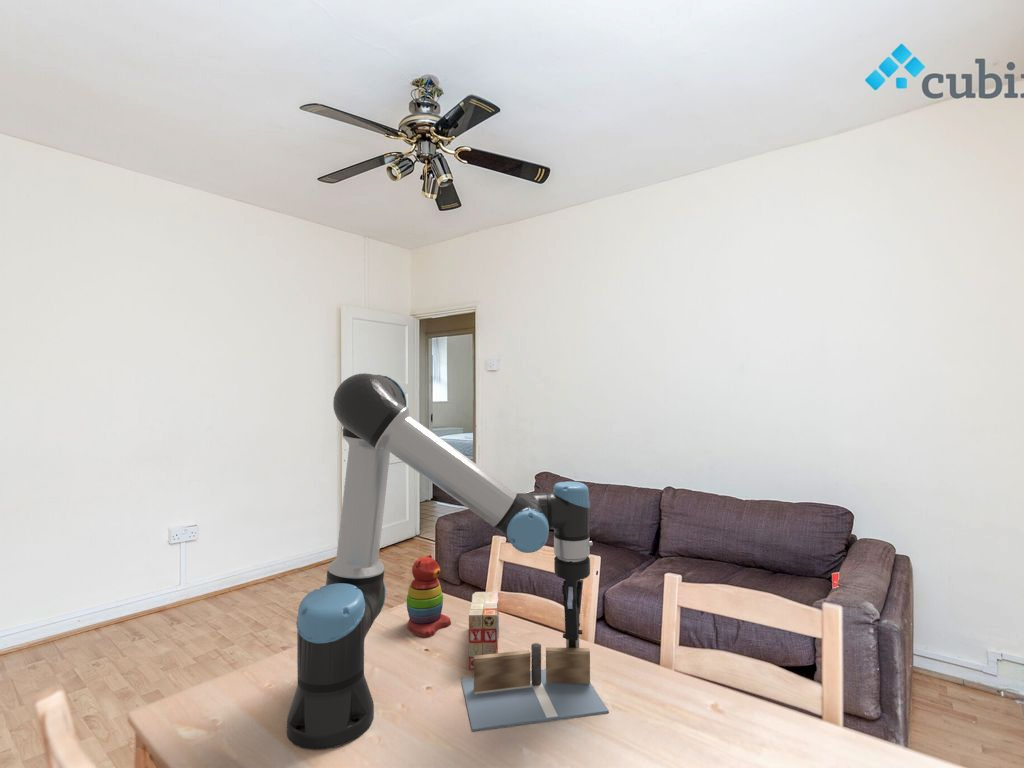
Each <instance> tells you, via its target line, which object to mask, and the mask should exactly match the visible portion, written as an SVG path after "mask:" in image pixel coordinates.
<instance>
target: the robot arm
mask: <svg viewBox="0 0 1024 768" xmlns="http://www.w3.org/2000/svg"><path fill="white" fill-rule="evenodd" d="M332 405H333V406H332V407H333V412H334V414H335V416H336V419H337V421H339V423H340V424H341V425H342V426H343V431H342V438H343V439H344V440H345V442H346V443H348V453H347V462H346V471H345V478H344V486H343V487H344V488H343V497H342V505H341V506H342V507H341V515H340V523H339V531H338V539H337V540H338V541H337V549H336V550H337V551H336V556H335V559H333V561H331V562H330V563H329V564H328V565H327V570H326V571H327V572H326V578H325V579H326V580H325V585H322V586H320V587H319V588H317V589H313V590H311V591H310V592H308V593H306V595H305V596H304V597H303V598H302V599H301V601H300V603H299V605H298V610H297V617H296V631H297V634H296V635H297V639H296V640H297V643H296V644H297V646H296V647H297V654H296V655H297V659H296V661H297V663H296V664H297V668H296V669H297V685H296V689H295V692H294V696H293V698H292V702H291V704H290V708H289V710H288V714H287V717H286V737H287V739H288V740H289V741H290V743H292V744H293V745H294V746H296V747H299V748H302V749H306V750H327V749H332V748H337V747H339V746H343V745H346V744H347V743H350V742H351V741H355V739H357V738H359V737H360V736H361V735H363V734H364V733H365V732H366V731H367V730H368V729H369V728H370V727H371V725H372V723H373V721H374V717H375V715H374V714H375V713H374V712H375V711H374V710H375V709H374V708H375V705H374V700H373V696H372V694H371V691H370V688H369V684H368V682H367V679H366V676H365V639H366V637H367V635H368V633H369V631H370V629H371V628H372V625H373V624H374V622H375V621H376V619H377V617H378V616H379V615H380V613H381V612H382V609H383V608H384V605H385V601H386V596H387V594H386V593H387V592H386V591H387V590H386V584H385V581H384V575H385V565H384V564H383V563H382V562H381V560H380V559H379V558H380V547H381V541H382V540H381V539H382V531H383V530H382V529H383V522H384V521H383V520H384V512H385V503H386V494H387V493H386V492H387V484H388V477H389V475H388V474H389V467H390V457H391V454H392V455H394V456H395V457H396V458H398V459H399V460H401V462H404V463H405V464H406V465H407V466H408V467H410V468H412V469H413V470H414V471H416V472H417V473H418V474H420V475H421V476H423V477H424V478H426V479H427V481H428V480H429V481H430V482H431V483H433V484H434V486H436V487H438V488H439V489H440V490H442V491H443V492H445V493H446V494H447V495H449V496H450V497H452V498H453V499H454V500H456V501H458V503H460V504H462V506H465V508H467V509H469V511H471V512H472V513H474V514H475V515H476V516H478V517H479V518H481V519H482V520H483V521H485V522H486V523H488V524H489V525H491V527H493V528H495V529H496V530H497V531H498V532H500V533H501V534H502V535H504V536H505V537H507V540H508V541H509V543H510V544H511V545H512V547H513V548H514V549H515V550H517V551H518V552H521V553H525V554H532V553H536V552H538V551H540V550H541V549H542V548H543V547H544V546H545V545H546V544H547V542H548V539H549V534H550V532H549V531H550V530H553V553H554V555H555V557H554V564H553V565H554V566H553V567H554V574H555V576H556V577H557V578H560V579H563V583H562V587H561V593H562V595H563V601H562V603H563V608H564V629H565V630H564V632H565V633H563V634H562V638H563V639H565V640H566V641H565V645H566V646H565V648H580V635H583V629H580V625H581V623H580V615H581V614H580V611H581V610H580V607H581V601H582V589H583V581H582V580H585V579H587V578H588V577H589V576H590V574H591V560H590V557H589V556H590V553H591V552H590V551H591V550H590V548H591V547H592V546H594V545H593V544H594V543H593V541H592V540H590V531H591V530H590V523H591V522H590V519H591V517H590V512H591V511H590V509H591V504H590V493H589V492H590V491H589V487H588V486H587V485H586V484H585V483H582V482H580V481H579V482H578V481H559V482H556V483H555V484H554V486H553V489H552V492H551V491H550V492H545V493H543V492H538V493H537V492H534V493H533V492H529V493H528V492H527V493H525V492H524V493H522V492H521V493H520V492H519V493H517V492H516V491H514V490H512V489H511V488H510V487H509V486H507V485H505V484H504V483H503V482H501V481H500V480H499V479H497V478H496V477H494V476H493V475H492V474H491V473H489V472H488V471H486V470H485V469H483V467H481V466H480V465H478V464H477V463H476V462H475V461H473V460H471V459H470V458H468V456H466V455H464V454H463V453H462V452H460V451H459V450H458V449H456V448H455V447H453V446H452V445H450V444H449V443H448V442H446V441H445V440H444V439H443V438H441V437H440V436H438V435H437V434H436V433H434V432H433V431H431V430H430V429H429V428H428V427H426V426H425V425H424V424H422V423H420V422H419V421H418V420H416V419H415V418H413V417H412V416H411V414H410V410H409V407H408V406H407V396H406V393H405V391H404V389H403V387H401V385H400V384H399V383H398V382H397V381H395V380H394V379H392V378H391V377H390V376H389V377H388V376H387V375H381V374H371V373H366V372H365V373H357V374H353V375H351V376H348V377H347V378H346V379H345V380H343V381H342V382H341V383H340V384H339V386H337V389H336V391H335V392H334V397H333V404H332Z"/></svg>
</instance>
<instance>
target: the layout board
mask: <svg viewBox="0 0 1024 768" xmlns="http://www.w3.org/2000/svg"><path fill="white" fill-rule="evenodd" d="M530 679H531V685H529V686H521V687H513V688H504V689H496V690H488V691H480V692H474V677H468V678H462V679H461V680H460V682H461V686H462V690H463V695H464V699H465V705H466V708H467V714H468V717H469V718H468V719H469V722H470V723H469V724H470V727H471V732H478V731H479V732H480V731H486V730H491V729H493V730H494V729H499V728H500V729H502V728H508V727H515V726H522V725H523V726H524V725H528V724H536V723H543V722H544V723H545V722H551V721H558V720H565V719H574V718H580V717H588V716H595V715H596V716H597V715H602V714H608V713H610V712H609V711H610V710H609V708H608V707H607V706H606V704H605V703H604V701H603V700H602V698H601V696H600V695H599V694H598V692H597V691H596V688H594V686H593V685H592V683H591V682H590V684H587V683H546V668H545V669H544V668H543V669H541V685H539V686H534V685H532V670H530Z"/></svg>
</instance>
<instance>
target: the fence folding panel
mask: <svg viewBox="0 0 1024 768" xmlns="http://www.w3.org/2000/svg"><path fill="white" fill-rule="evenodd" d="M590 658H591V651H590V647H579V648H566V647H552V646H551V647H545V669H546V683H587V684H590V683H591V659H590Z"/></svg>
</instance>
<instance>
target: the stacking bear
mask: <svg viewBox="0 0 1024 768" xmlns="http://www.w3.org/2000/svg"><path fill="white" fill-rule="evenodd" d="M411 572H412V577H413V579H412V581H411V582H410V585H409V587H408V591H407V595H406V611H407V614H408V618H409V619H408V620H407V624H406V625H407V629H408V631H409V632H410V633H411V634H413V635H415V636H418V637H420V638H430V637H432V636H435V633H436V632H437V630H440V629H443V628H446V627H449V626H450V625H451V623H452V621H451V618H450V617H449V616H448V615H446V614H445V615H444V614H442V611H443V606H444V605H443V604H444V596H443V595H444V594H443V592H442V587H441V583H440V580H439V579H438V577H439V576H440V573H441V567H440V565H439V564H438V562H437V561H436V560H435V559H434V558H433V556H432V555H431V554H428V555H427V556H423V557H420V558H418V559H416V560H415V561H414V563H413V564H412V568H411Z"/></svg>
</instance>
